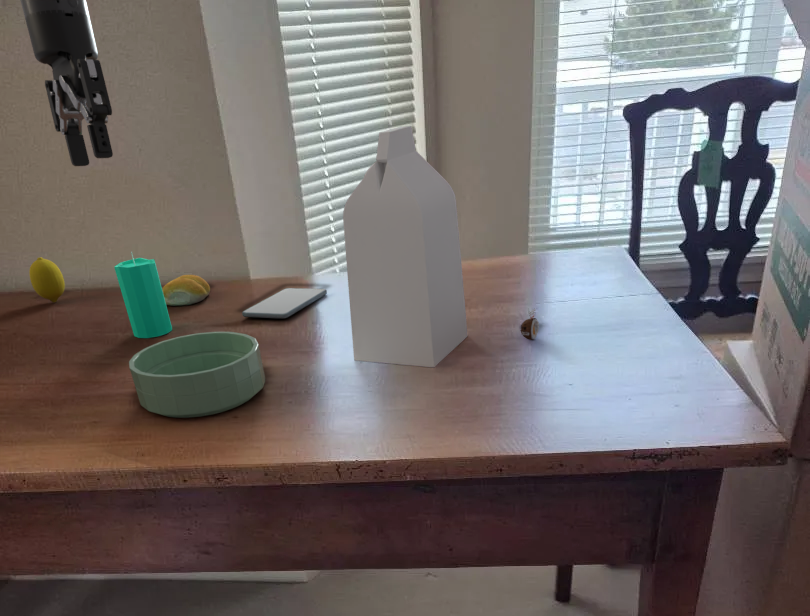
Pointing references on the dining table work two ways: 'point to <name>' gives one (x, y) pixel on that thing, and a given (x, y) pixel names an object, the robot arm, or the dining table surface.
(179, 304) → the bread roll
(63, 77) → the robot arm
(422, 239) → the milk
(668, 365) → the dining table surface
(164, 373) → the bowl
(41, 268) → the lemon
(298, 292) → the smartphone
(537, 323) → the chocolate
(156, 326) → the candle
